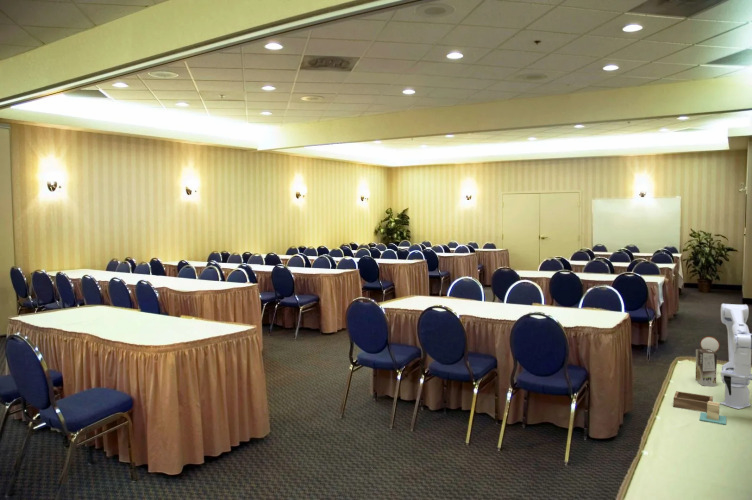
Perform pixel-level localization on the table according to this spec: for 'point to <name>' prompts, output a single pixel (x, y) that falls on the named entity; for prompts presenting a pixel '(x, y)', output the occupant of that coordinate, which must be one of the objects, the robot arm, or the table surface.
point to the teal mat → (704, 418)
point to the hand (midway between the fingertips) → (741, 396)
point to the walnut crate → (691, 401)
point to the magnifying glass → (710, 343)
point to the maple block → (713, 410)
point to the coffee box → (706, 367)
